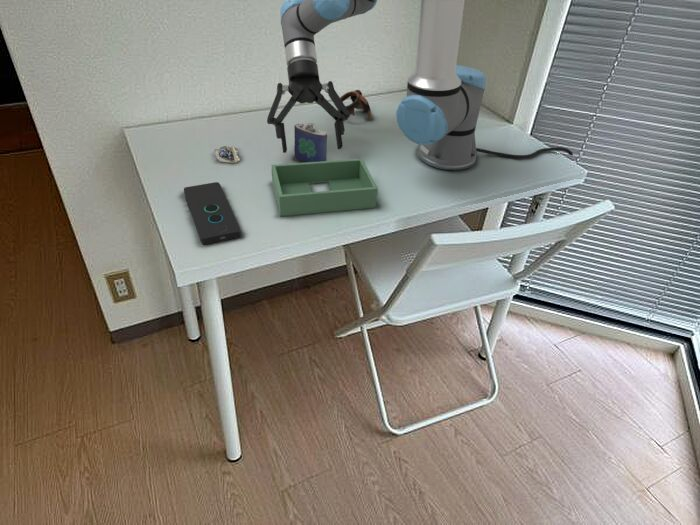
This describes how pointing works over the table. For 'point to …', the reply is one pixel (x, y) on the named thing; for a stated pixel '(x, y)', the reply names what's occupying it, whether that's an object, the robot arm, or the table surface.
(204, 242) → the smart home device
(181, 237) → the table surface
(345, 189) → the open box
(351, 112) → the brown looped sculpture
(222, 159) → the geode half
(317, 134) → the flask
